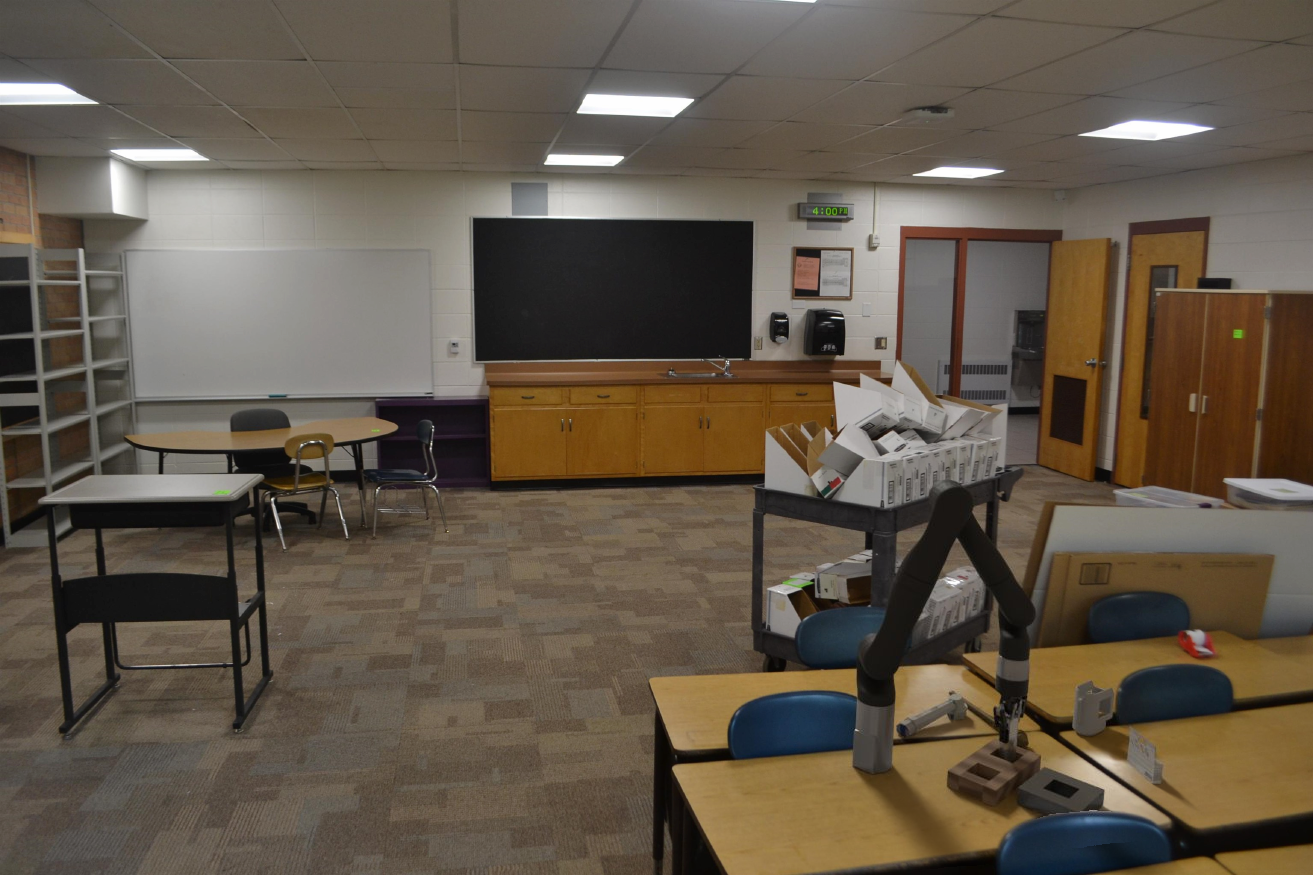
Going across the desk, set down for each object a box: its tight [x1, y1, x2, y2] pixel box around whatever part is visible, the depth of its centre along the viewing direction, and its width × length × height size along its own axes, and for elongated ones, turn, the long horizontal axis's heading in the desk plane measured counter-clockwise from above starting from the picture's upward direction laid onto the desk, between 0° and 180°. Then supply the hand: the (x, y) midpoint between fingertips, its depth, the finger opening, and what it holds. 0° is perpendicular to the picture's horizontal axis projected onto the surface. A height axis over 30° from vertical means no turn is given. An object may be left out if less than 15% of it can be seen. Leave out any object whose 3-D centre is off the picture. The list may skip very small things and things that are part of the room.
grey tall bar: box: [998, 714, 1019, 763], centre depth 227 cm, size 4×4×11 cm
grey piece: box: [895, 693, 969, 739], centre depth 252 cm, size 5×7×25 cm
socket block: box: [1016, 766, 1105, 816], centre depth 213 cm, size 14×14×4 cm
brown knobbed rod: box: [948, 690, 1030, 748], centre depth 254 cm, size 5×35×5 cm
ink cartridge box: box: [1126, 726, 1164, 785], centre depth 227 cm, size 2×11×10 cm, turn 4°
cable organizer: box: [1071, 679, 1115, 737], centre depth 249 cm, size 7×13×12 cm, turn 125°
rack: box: [946, 737, 1042, 807], centre depth 224 cm, size 24×12×4 cm, turn 134°
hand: (1008, 738), depth 227 cm, fingers closed on grey tall bar, 4 cm apart
